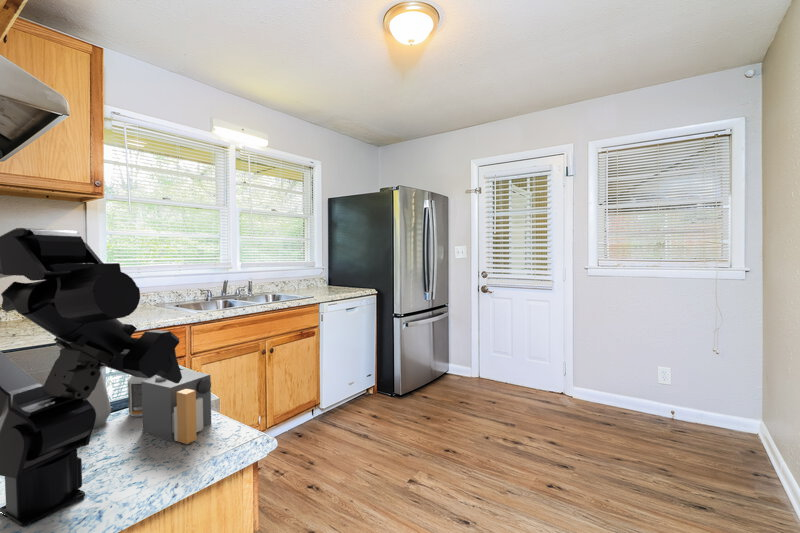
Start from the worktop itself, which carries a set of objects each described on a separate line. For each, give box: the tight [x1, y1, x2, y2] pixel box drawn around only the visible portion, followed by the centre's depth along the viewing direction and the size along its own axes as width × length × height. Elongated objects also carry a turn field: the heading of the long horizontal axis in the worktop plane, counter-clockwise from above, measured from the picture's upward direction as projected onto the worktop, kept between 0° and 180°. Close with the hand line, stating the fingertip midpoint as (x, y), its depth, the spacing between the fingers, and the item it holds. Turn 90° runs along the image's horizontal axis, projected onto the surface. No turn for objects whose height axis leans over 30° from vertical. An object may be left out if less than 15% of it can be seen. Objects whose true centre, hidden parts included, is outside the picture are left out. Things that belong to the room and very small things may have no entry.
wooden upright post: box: [174, 389, 204, 445], centre depth 68 cm, size 5×3×9 cm, turn 155°
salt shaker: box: [87, 366, 112, 430], centre depth 73 cm, size 6×6×13 cm
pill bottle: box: [127, 375, 157, 418], centre depth 79 cm, size 6×6×10 cm
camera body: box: [141, 369, 212, 442], centre depth 72 cm, size 8×9×10 cm
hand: (159, 377), depth 61 cm, fingers open, 9 cm apart
